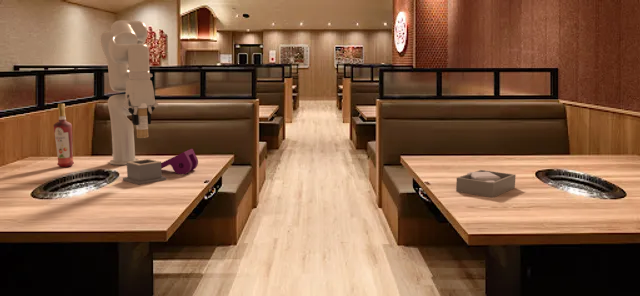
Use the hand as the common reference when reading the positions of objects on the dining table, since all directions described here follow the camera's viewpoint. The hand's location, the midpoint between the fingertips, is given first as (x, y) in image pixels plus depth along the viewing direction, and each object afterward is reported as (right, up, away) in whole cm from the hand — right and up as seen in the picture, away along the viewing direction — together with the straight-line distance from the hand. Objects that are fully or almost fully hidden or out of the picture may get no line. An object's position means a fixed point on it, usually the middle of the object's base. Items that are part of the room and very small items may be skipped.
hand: (141, 123), depth 200 cm
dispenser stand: (+130, -25, -12) cm, 132 cm away
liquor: (-45, -18, +31) cm, 57 cm away
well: (0, -22, +4) cm, 22 cm away
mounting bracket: (+7, -20, +20) cm, 29 cm away
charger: (+130, -24, -12) cm, 133 cm away
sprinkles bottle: (0, -5, +1) cm, 6 cm away
